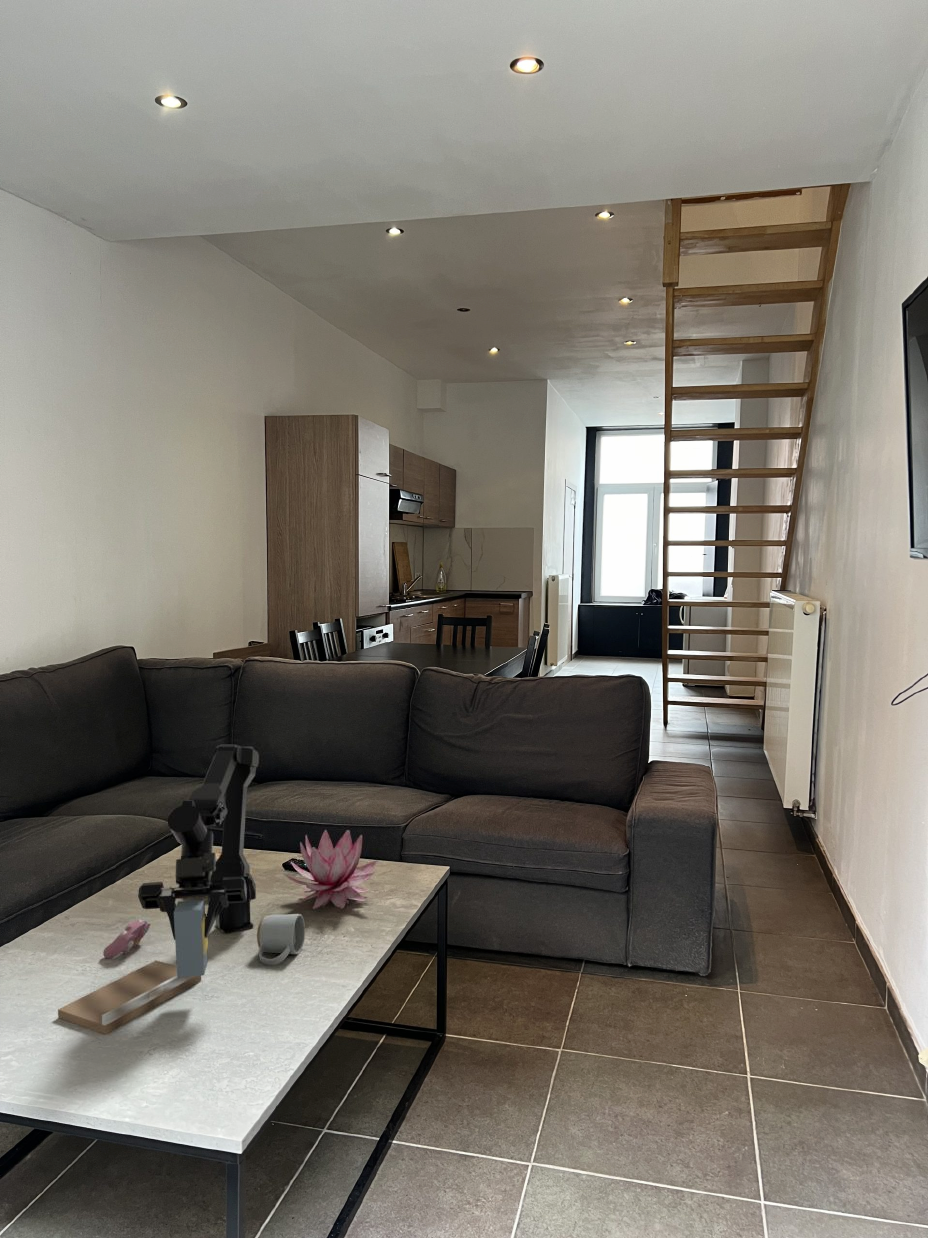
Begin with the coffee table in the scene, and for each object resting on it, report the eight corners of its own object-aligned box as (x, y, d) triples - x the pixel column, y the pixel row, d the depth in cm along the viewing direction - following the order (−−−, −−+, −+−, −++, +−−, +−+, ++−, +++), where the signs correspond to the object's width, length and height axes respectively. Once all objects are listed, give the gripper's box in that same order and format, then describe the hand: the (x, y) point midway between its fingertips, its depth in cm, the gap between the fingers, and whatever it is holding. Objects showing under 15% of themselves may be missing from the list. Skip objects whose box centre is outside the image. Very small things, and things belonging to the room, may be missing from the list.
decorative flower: (267, 904, 209) (265, 840, 208) (337, 879, 225) (335, 820, 224) (328, 927, 195) (326, 859, 194) (397, 898, 211) (396, 835, 210)
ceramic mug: (268, 942, 187) (267, 907, 187) (306, 944, 186) (305, 908, 186) (249, 966, 177) (248, 928, 176) (289, 968, 176) (288, 930, 175)
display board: (156, 967, 176) (155, 952, 176) (202, 981, 170) (201, 965, 170) (58, 1018, 157) (57, 1000, 157) (106, 1034, 151) (105, 1016, 151)
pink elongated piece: (118, 968, 180) (131, 939, 179) (99, 957, 180) (112, 927, 179) (144, 947, 189) (157, 919, 188) (126, 937, 190) (139, 909, 189)
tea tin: (177, 978, 159) (173, 912, 158) (181, 965, 164) (178, 901, 163) (205, 975, 160) (202, 910, 159) (209, 962, 165) (205, 899, 164)
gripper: (137, 840, 163) (127, 924, 152) (243, 834, 165) (240, 916, 155) (147, 868, 171) (138, 949, 161) (248, 861, 174) (245, 940, 164)
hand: (190, 938), depth 160 cm, fingers closed on tea tin, 5 cm apart
